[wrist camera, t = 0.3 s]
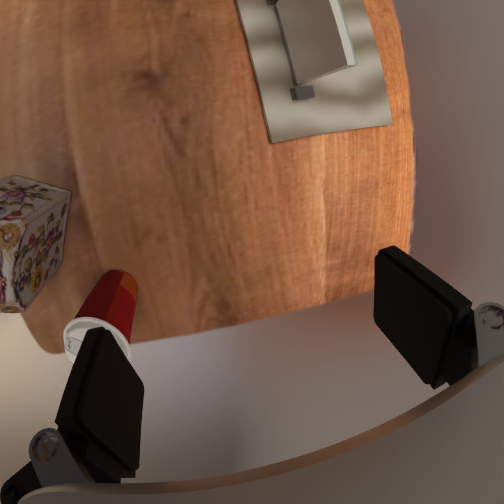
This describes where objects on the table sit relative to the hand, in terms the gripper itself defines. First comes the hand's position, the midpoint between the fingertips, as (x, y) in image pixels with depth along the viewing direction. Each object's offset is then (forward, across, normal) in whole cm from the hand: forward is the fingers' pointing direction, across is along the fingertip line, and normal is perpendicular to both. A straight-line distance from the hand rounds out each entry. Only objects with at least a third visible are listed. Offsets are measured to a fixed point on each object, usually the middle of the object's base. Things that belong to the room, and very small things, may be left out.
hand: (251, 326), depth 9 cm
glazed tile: (+28, -14, -16) cm, 35 cm away
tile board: (+30, -18, -16) cm, 39 cm away
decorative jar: (+31, +26, -2) cm, 40 cm away
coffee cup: (+30, +17, +12) cm, 37 cm away
